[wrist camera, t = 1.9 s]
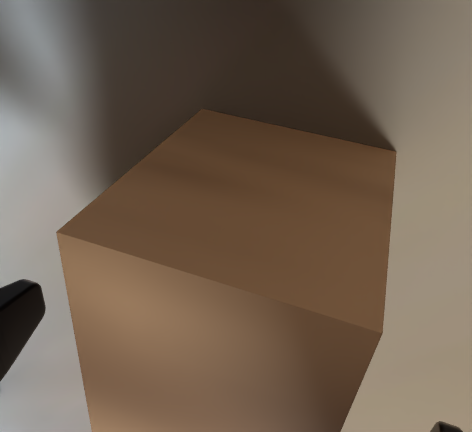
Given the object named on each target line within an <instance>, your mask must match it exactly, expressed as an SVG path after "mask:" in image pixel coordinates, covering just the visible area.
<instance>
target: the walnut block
mask: <svg viewBox="0 0 472 432" xmlns="http://www.w3.org/2000/svg"><path fill="white" fill-rule="evenodd" d="M395 165H396V151H391V150H387V149H382V148H378V147H373V146H369V145H364V144H360V143H355V142H350V141H346V140H341V139H337V138H332V137H328V136H323V135H319V134H314V133H310V132H305V131H301V130H296V129H292V128H287V127H282V126H278V125H273V124H269V123H264V122H260V121H255V120H251V119H246V118H242V117H237V116H233V115H228V114H224V113H219V112H215V111H210V110H205V109H201V110H200V111H199V112H198V113H196V114H195V115H194V116H193V117H192V118H191V119H189V120H188V121H187V122H186V123H185V124H183V125H182V126H181V127H180V128H179V129H178V130H176V131H175V132H174V133H173V134H172V135H170V136H169V137H168V138H167V139H166V140H165V141H163V142H162V143H161V144H160V145H159V146H157V147H156V148H155V149H154V150H153V151H152V152H150V153H149V154H148V155H147V156H146V157H144V158H143V159H142V160H141V161H140V162H139V163H137V164H136V165H135V166H134V167H133V168H131V169H130V170H129V171H128V172H127V173H126V174H124V175H123V176H122V177H121V178H120V179H118V180H117V181H116V182H115V183H114V184H113V185H111V186H110V187H109V188H108V189H107V190H105V191H104V192H103V193H102V194H101V195H100V196H98V197H97V198H96V199H95V200H94V201H92V202H91V203H90V204H89V205H88V206H87V207H85V208H84V209H83V210H82V211H81V212H79V213H78V214H77V215H76V216H75V217H73V218H72V219H71V220H70V221H69V222H68V223H66V224H65V225H64V226H63V227H62V228H60V229H59V230H58V231H57V232H56V233H57V239H58V244H59V250H60V255H61V261H62V267H63V272H64V278H65V283H66V289H67V295H68V300H69V306H70V311H71V317H72V322H73V328H74V334H75V339H76V345H77V350H78V356H79V362H80V367H81V373H82V378H83V384H84V390H85V395H86V401H87V406H88V412H89V417H90V423H91V429H92V432H340V431H341V429H342V427H343V424H344V422H345V420H346V417H347V415H348V413H349V410H350V408H351V406H352V403H353V401H354V399H355V396H356V394H357V392H358V389H359V387H360V385H361V382H362V380H363V378H364V375H365V373H366V371H367V368H368V366H369V364H370V361H371V359H372V357H373V354H374V352H375V350H376V347H377V345H378V343H379V340H380V338H381V336H382V333H383V320H384V307H385V294H386V281H387V268H388V255H389V242H390V229H391V217H392V204H393V191H394V178H395Z"/></svg>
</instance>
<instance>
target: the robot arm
mask: <svg viewBox="0 0 472 432" xmlns="http://www.w3.org/2000/svg"><path fill="white" fill-rule="evenodd" d="M45 308H46V307H45V302H44V298H43V293H42V289H41V286H40V285H39V284H38V283H36V282H33V281H30V280H26V279H22V280H19V281H16V282H14V283H11V284H9V285H6V286H4V287H2V288H0V381H1V380H2V378H3V377H4V376H5V374H6V373H7V372H8V370H9V369H10V367H11V366H12V364H13V363H14V361H15V360H16V358H17V357H18V355H19V354H20V352H21V351H22V349H23V347H24V346H25V344H26V343H27V341H28V340H29V338H30V337H31V335H32V334H33V332H34V330H35V329H36V327H37V326H38V324H39V323H40V321H41V320H42V318H43V316H44V314H45ZM430 432H463V431H462V430H461V429H460V428H458V427H456V426H453V425H450V424H447V423H445V422H441V421H439V422H437V423H436V424H435V425H434V427H433V428H432V430H431V431H430Z"/></svg>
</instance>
